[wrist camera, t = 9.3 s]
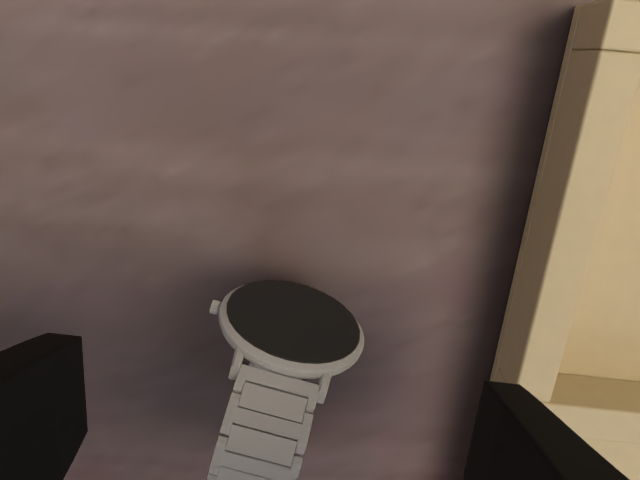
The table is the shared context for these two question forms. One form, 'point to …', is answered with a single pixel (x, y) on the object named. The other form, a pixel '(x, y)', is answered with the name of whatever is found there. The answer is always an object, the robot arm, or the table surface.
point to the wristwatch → (278, 374)
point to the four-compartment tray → (585, 244)
